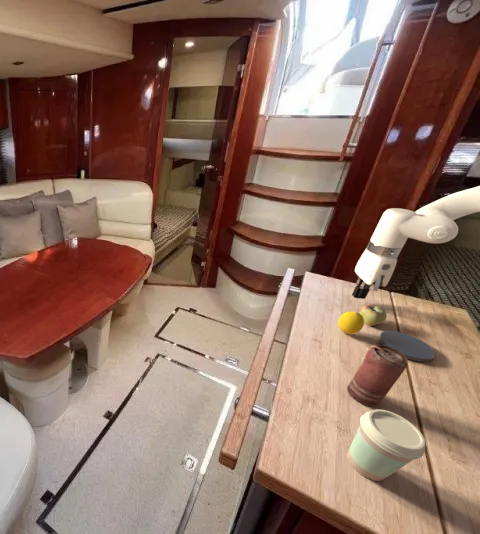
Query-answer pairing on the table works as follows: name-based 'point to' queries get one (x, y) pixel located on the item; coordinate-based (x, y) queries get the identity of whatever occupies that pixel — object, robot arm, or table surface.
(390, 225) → the robot arm
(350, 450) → the coffee cup
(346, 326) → the lemon
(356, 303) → the table surface
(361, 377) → the can
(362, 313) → the apple
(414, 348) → the plate
